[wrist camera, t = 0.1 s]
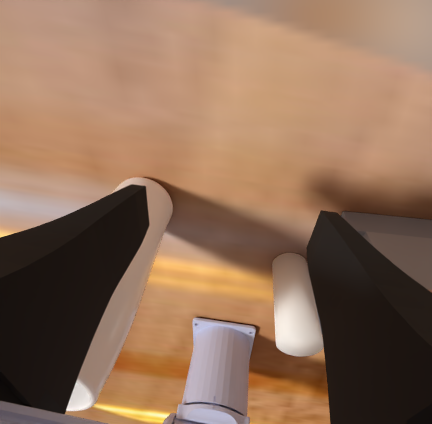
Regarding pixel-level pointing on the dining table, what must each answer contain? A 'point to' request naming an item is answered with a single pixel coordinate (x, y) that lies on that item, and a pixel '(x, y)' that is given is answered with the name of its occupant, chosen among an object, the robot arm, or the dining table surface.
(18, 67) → the dining table surface
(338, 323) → the robot arm
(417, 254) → the socket station
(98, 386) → the cream rounded cylinder
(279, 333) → the peg
